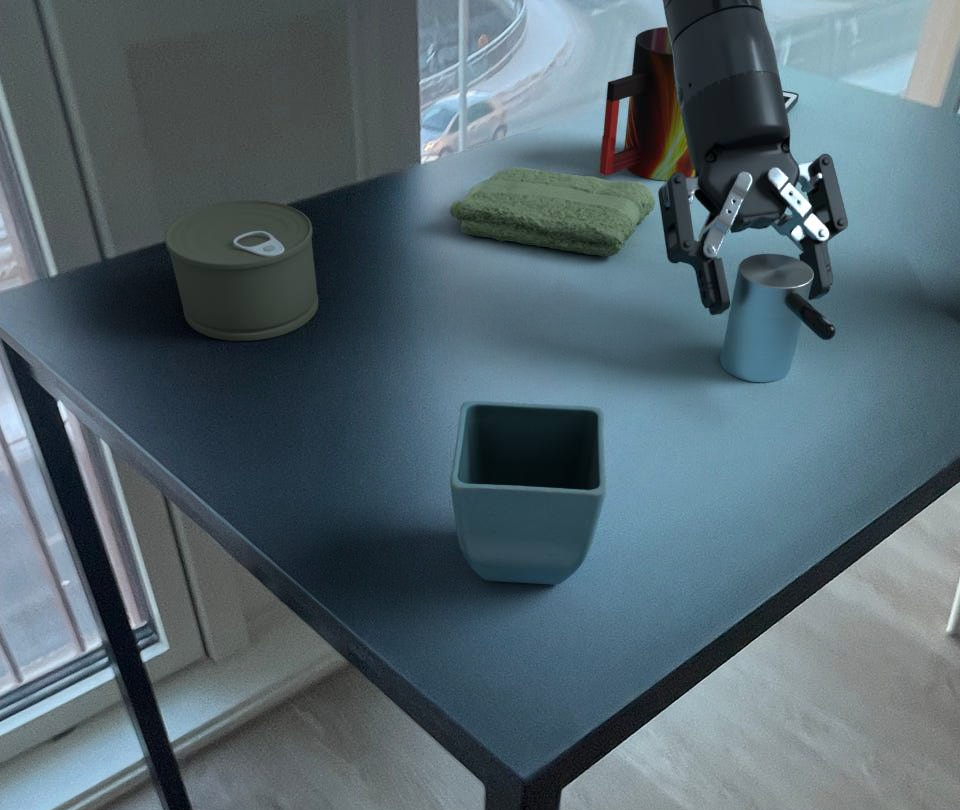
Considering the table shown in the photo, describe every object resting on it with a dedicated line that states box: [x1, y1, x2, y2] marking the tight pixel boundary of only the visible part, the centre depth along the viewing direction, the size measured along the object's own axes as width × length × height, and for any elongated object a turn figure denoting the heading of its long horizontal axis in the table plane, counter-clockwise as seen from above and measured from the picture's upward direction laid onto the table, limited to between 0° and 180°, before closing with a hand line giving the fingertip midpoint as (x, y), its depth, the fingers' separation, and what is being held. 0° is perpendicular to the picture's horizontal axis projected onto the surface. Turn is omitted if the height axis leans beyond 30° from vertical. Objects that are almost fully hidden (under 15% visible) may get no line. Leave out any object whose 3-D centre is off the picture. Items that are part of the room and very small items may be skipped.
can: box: [164, 199, 319, 342], centre depth 86 cm, size 12×12×7 cm
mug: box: [599, 26, 695, 182], centre depth 105 cm, size 10×14×12 cm
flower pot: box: [449, 400, 608, 585], centre depth 62 cm, size 9×9×9 cm
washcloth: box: [449, 166, 656, 257], centre depth 99 cm, size 13×18×3 cm
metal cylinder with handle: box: [719, 253, 837, 383], centre depth 77 cm, size 11×6×8 cm, turn 18°
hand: (770, 304), depth 78 cm, fingers open, 8 cm apart
